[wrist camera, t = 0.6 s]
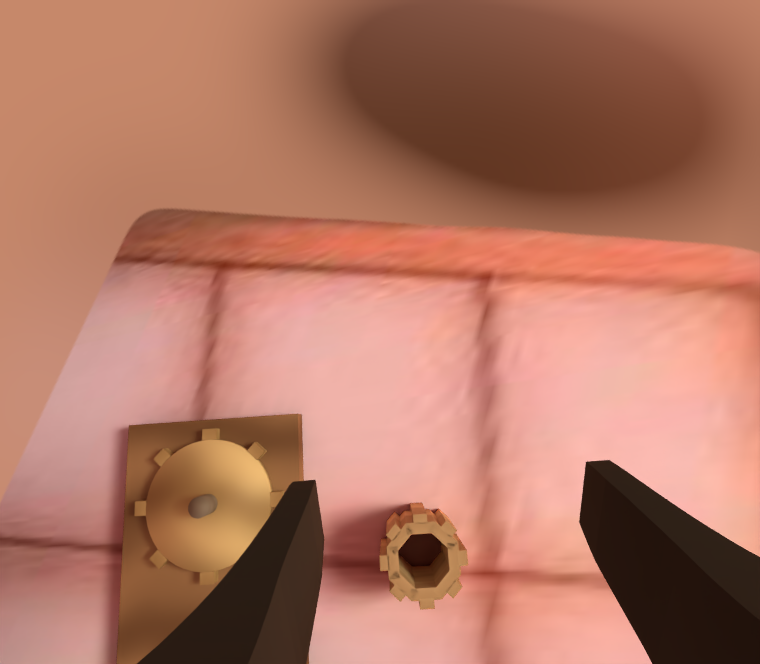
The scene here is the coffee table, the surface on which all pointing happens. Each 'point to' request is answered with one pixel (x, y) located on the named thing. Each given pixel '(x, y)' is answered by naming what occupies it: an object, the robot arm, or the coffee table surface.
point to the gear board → (195, 514)
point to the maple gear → (422, 579)
